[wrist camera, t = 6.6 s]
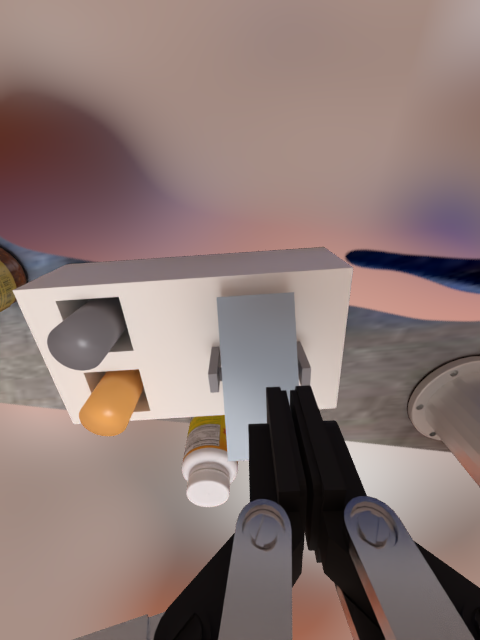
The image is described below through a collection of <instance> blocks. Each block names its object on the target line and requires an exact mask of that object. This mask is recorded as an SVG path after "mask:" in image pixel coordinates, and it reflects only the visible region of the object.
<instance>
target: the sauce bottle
mask: <svg viewBox="0 0 480 640" xmlns="http://www.w3.org/2000/svg"><path fill="white" fill-rule="evenodd" d="M25 284H26V277H25V273H24V271H23V268H22V266H21V265H20V264H19V263H18V262H17V261H16V259H15V258H14V257H12V256H11V255H10V254H9V253H8V252H6V251H5V250H3V249H2V248H0V312H1V311H3V310H5V309H6V308H8V307H10V306H11V304H12V303H14V302H16V301H17V299H16V297H15V295H14V293H13V291H12V290H14V289H16V288H18V287H20V286H23V285H25Z"/></svg>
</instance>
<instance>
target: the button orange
mask: <svg viewBox="0 0 480 640" xmlns="http://www.w3.org/2000/svg"><path fill="white" fill-rule="evenodd" d="M143 389H144V386H143V382H142V379H141V375H140V372H139V369H135V370H119V371H106V373H105V374H104V376H103V377H102V379H101V380H100V382H99V383H98V385H97V386H96V388H95V389H94V391H93V392H92V393H91V395H90V396H89V398H88V399H87V401H86V402H85V404H84V405H83V407H82V408H81V410H80V412H79V419H80V422H81V423H82V425H83V426H84V427H85V428H86V429H87V430H89V431H90V432H93V433H95V434H97V435H101V436H114V435H118V434H120V433H122V432H123V431H124V430H125V429H126V427H127V425H128V423H129V420H130V418H131V416H132V414H133V411H134V409H135V407H136V405H137V402H138V400H139V398H140V396H141V393H142V391H143Z"/></svg>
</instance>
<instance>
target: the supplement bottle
mask: <svg viewBox="0 0 480 640" xmlns="http://www.w3.org/2000/svg"><path fill="white" fill-rule="evenodd" d="M237 470H238V461H228V453H227V439H226V425H225V415H214V416H197V417H191V421H190V426H189V431H188V436H187V442H186V448H185V452H184V458H183V464H182V473H183V476H184V478H185V479H186V480H187V483H188V485H187V492H186V493H187V497H188V499H189V500H190V501H191V502H192V503H194V504H196V505H198V506H202V507H214V506H218V505H220V504H223V503H224V502H225V501H226V500H227V499H228V497H229V490H230V483H231V482H232V481H233V480H234V479H235V477H236V475H237Z"/></svg>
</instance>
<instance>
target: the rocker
mask: <svg viewBox="0 0 480 640" xmlns="http://www.w3.org/2000/svg"><path fill="white" fill-rule="evenodd" d="M217 311H218V326H219V340H220V354H221V367H220V368H219V376H220V381H222V382H223V397H224V411H225V425H226V439H227V453H228V461H245V460H249V436H248V424H260V423H267V408H266V387H280V388H281V390H286V392H287V396H288V401H289V405H290V390H295V386H299V378H298V376H299V367H298V359H297V340H296V320H295V301H294V292H289V293H274V294H259V295H243V296H228V297H217Z"/></svg>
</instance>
